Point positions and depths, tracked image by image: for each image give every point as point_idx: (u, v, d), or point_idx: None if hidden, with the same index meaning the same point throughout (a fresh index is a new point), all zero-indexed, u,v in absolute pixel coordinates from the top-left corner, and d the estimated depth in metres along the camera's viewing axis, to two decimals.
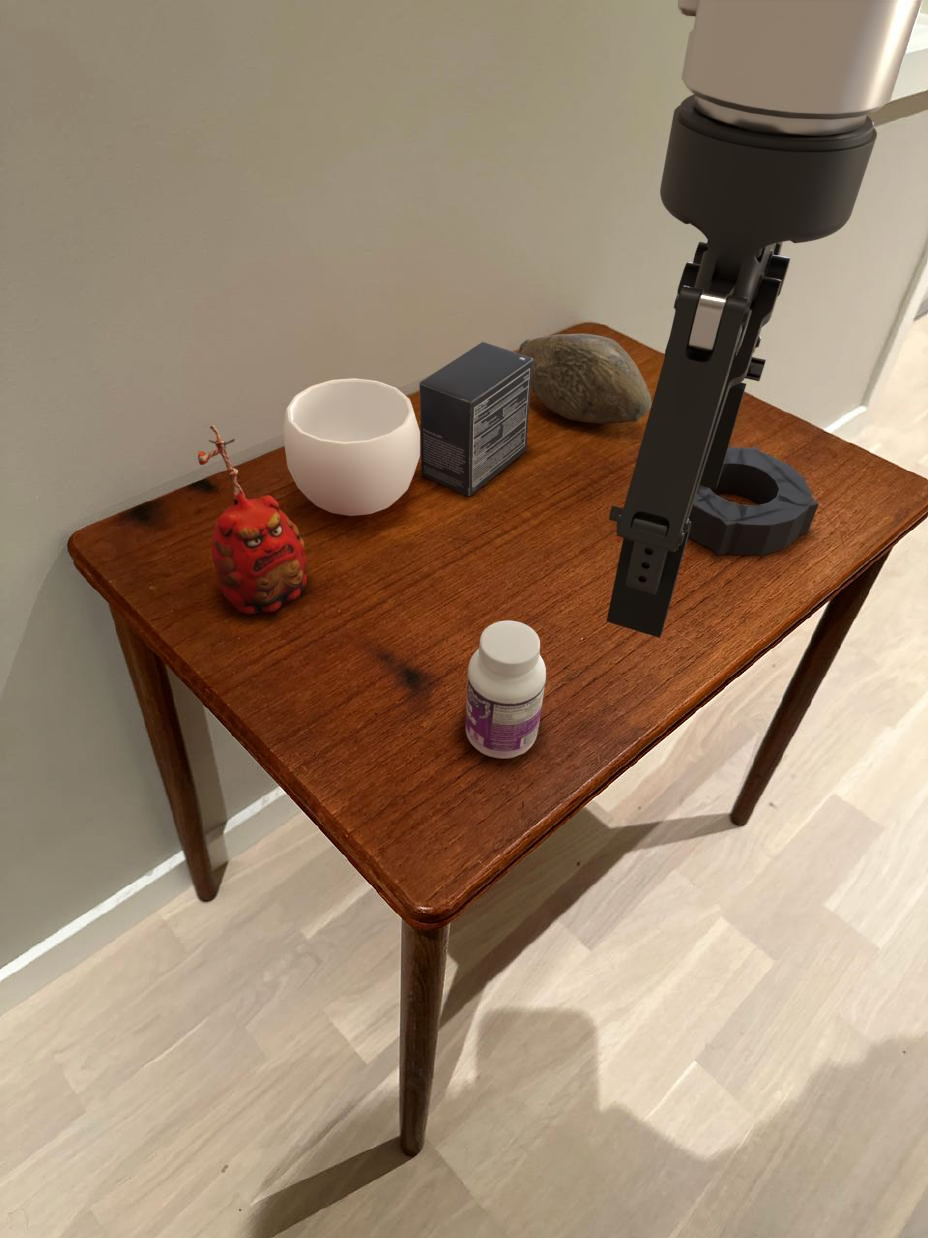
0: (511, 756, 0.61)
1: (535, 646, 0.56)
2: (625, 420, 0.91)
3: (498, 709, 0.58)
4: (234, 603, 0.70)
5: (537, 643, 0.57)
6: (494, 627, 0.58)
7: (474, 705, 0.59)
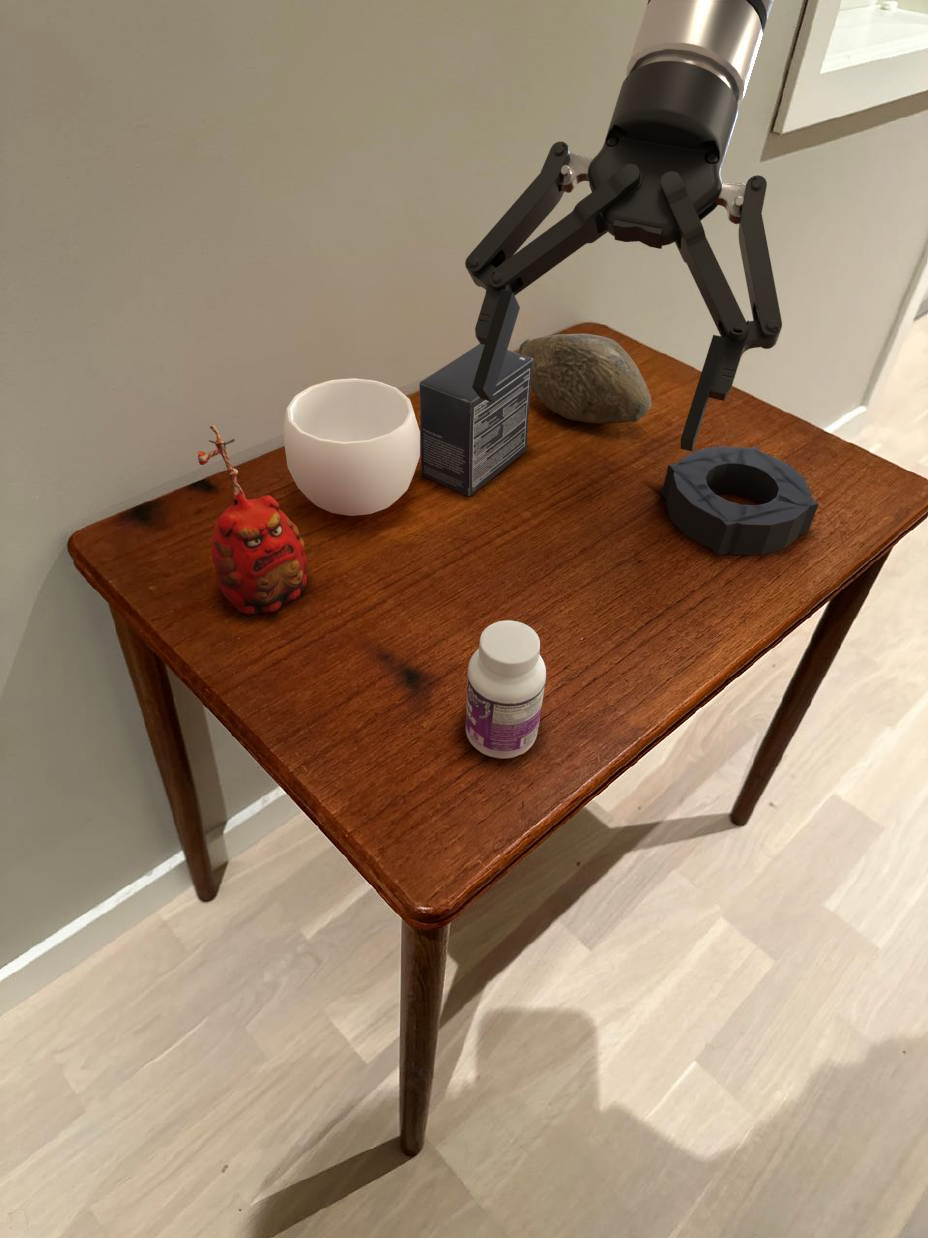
0: (511, 756, 0.61)
1: (535, 646, 0.56)
2: (625, 420, 0.91)
3: (498, 709, 0.58)
4: (234, 603, 0.70)
5: (537, 643, 0.57)
6: (494, 627, 0.58)
7: (474, 705, 0.59)
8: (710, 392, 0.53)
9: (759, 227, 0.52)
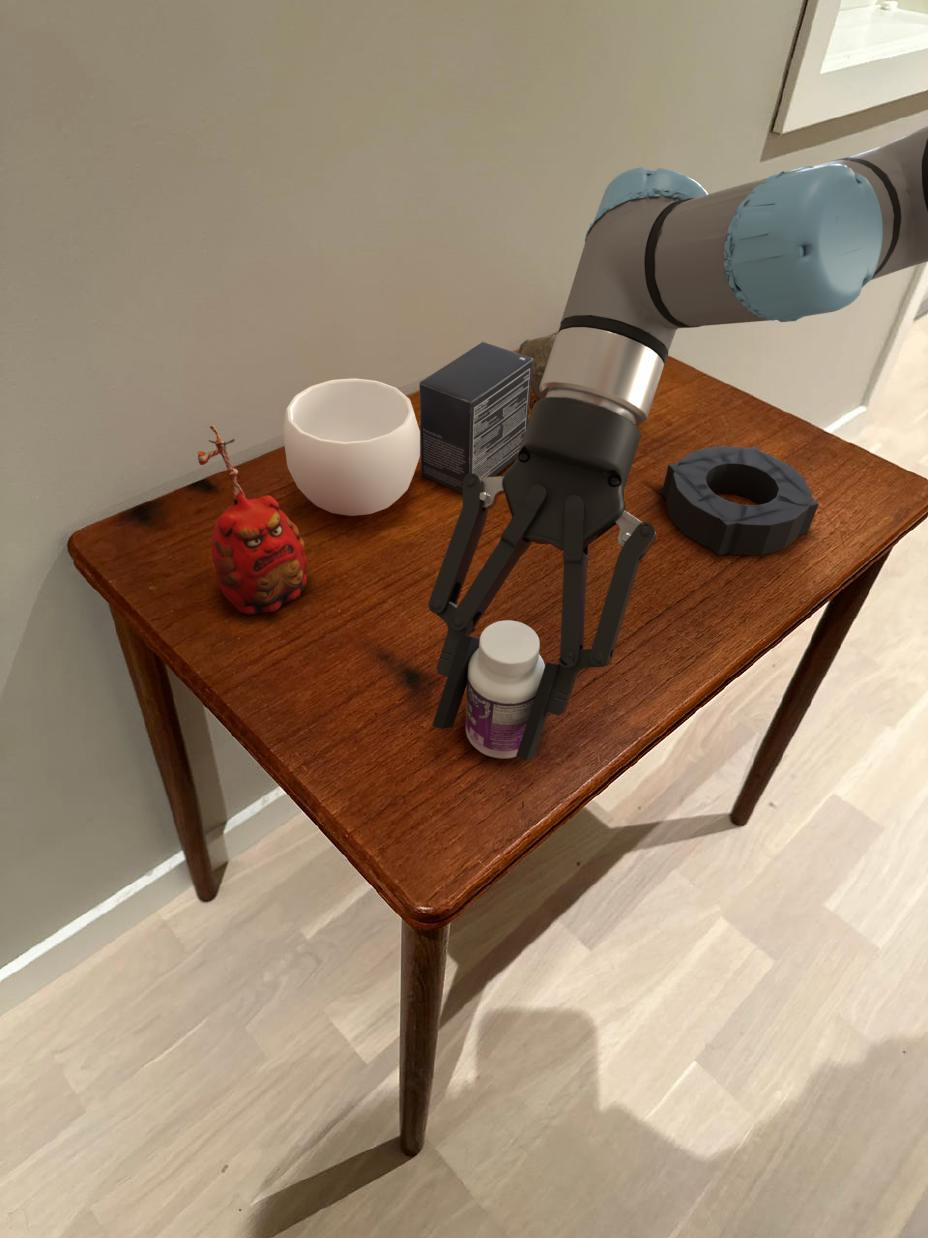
0: (511, 756, 0.61)
1: (535, 646, 0.56)
2: None
3: (498, 709, 0.58)
4: (234, 603, 0.70)
5: (537, 643, 0.57)
6: (494, 627, 0.58)
7: (474, 705, 0.59)
8: (546, 711, 0.57)
9: (629, 569, 0.56)
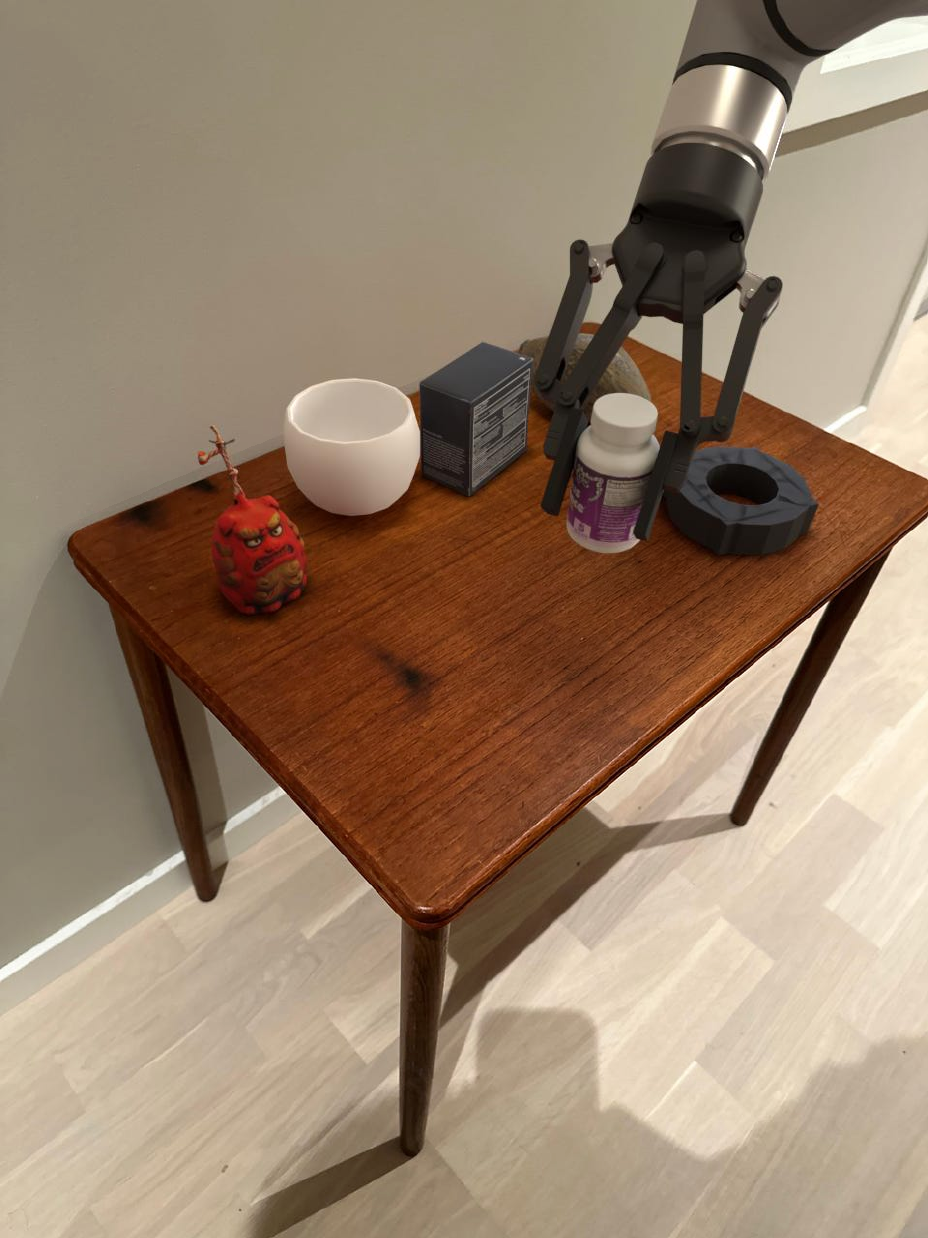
0: (618, 549, 0.58)
1: (653, 413, 0.53)
2: None
3: (612, 485, 0.54)
4: (234, 603, 0.70)
5: (654, 411, 0.53)
6: (606, 398, 0.54)
7: (583, 487, 0.55)
8: (663, 486, 0.54)
9: (755, 326, 0.52)
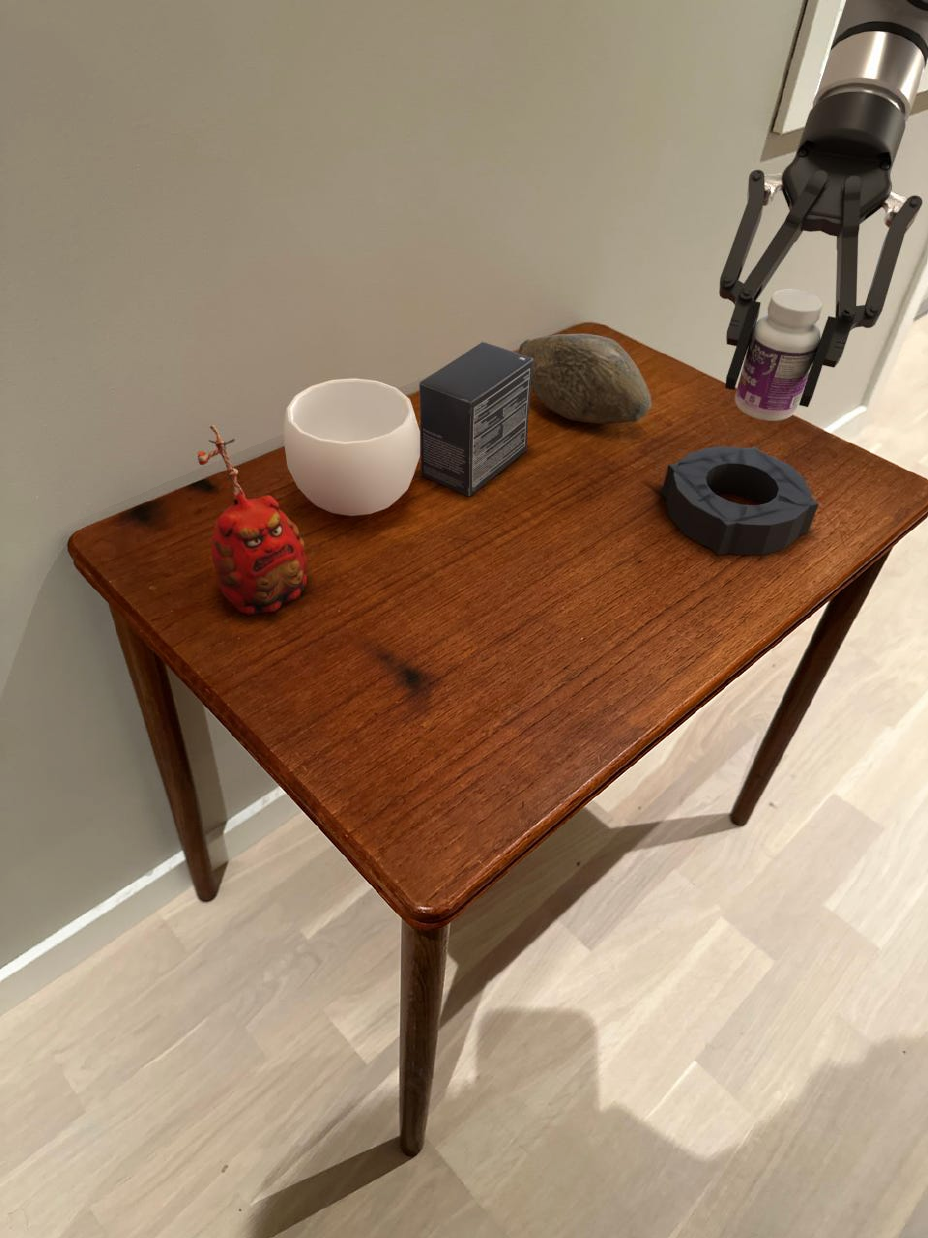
0: (780, 417, 0.73)
1: (819, 302, 0.68)
2: (625, 420, 0.91)
3: (784, 360, 0.69)
4: (234, 603, 0.70)
5: (820, 300, 0.68)
6: (780, 292, 0.69)
7: (759, 363, 0.71)
8: (824, 360, 0.69)
9: (900, 234, 0.67)
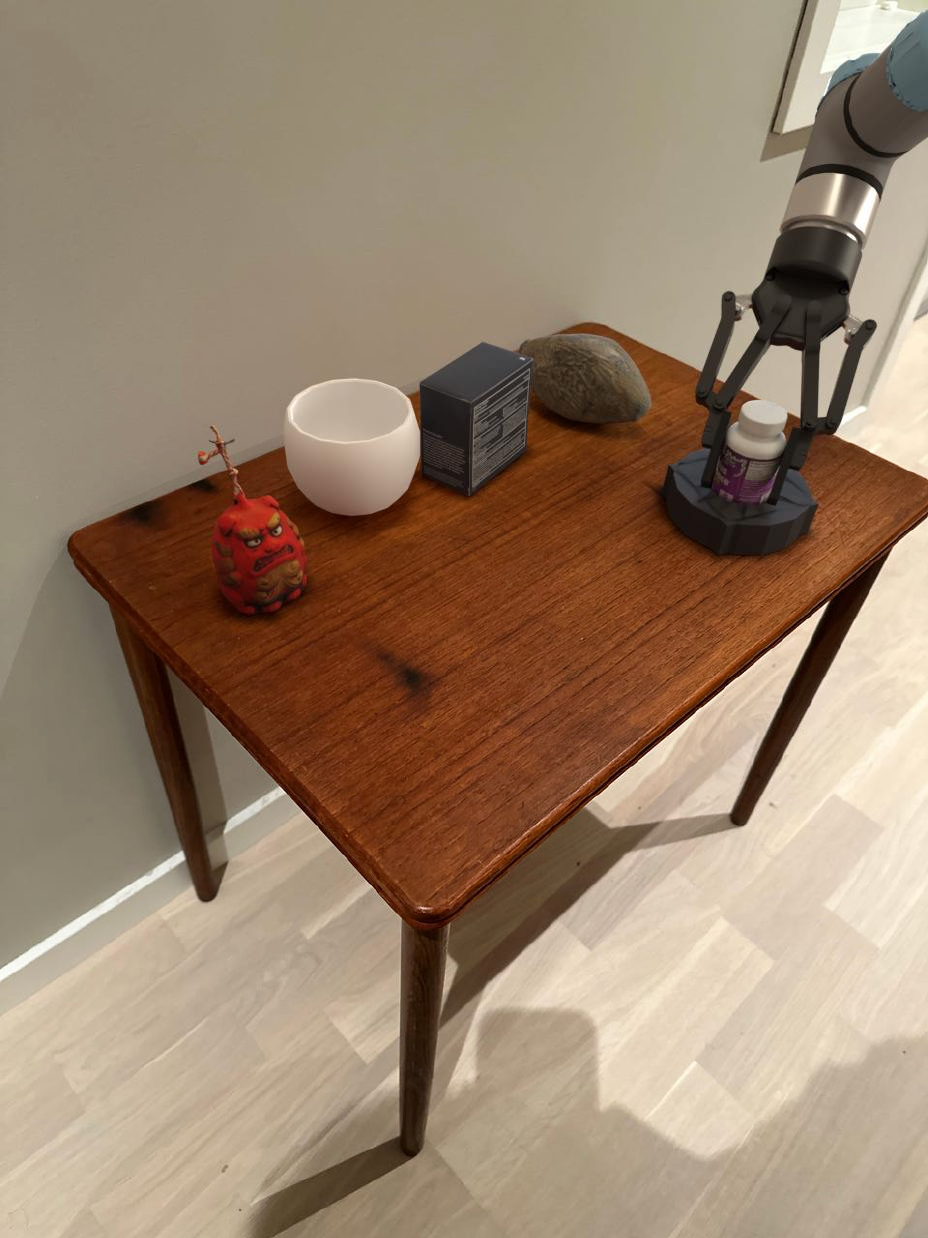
0: None
1: (784, 414, 0.75)
2: (625, 420, 0.91)
3: (753, 465, 0.77)
4: (234, 603, 0.70)
5: (785, 412, 0.76)
6: (749, 403, 0.77)
7: (730, 466, 0.78)
8: (789, 465, 0.76)
9: (857, 354, 0.75)
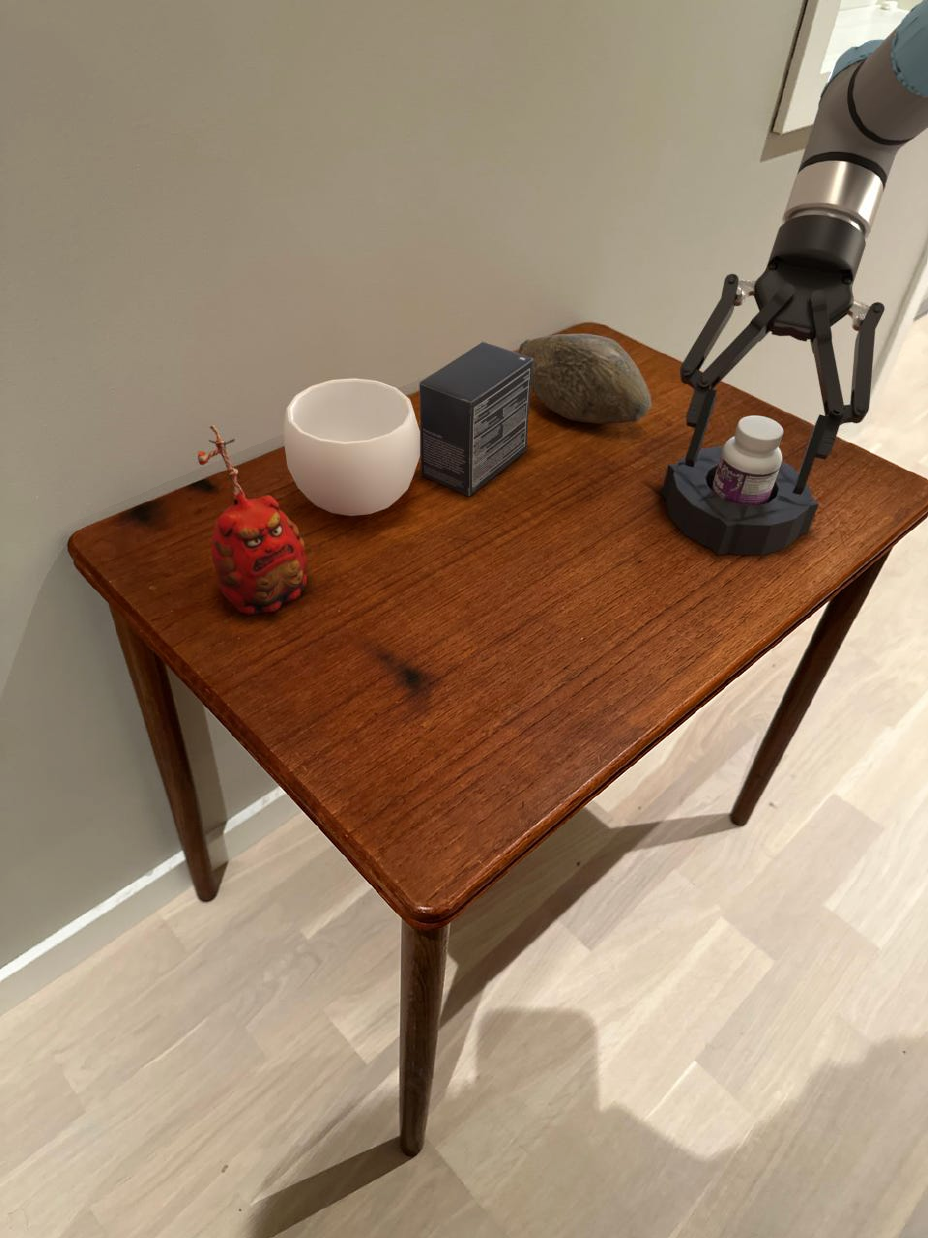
0: None
1: (780, 430, 0.77)
2: (625, 420, 0.91)
3: (749, 479, 0.78)
4: (234, 603, 0.70)
5: (781, 428, 0.77)
6: (746, 419, 0.78)
7: (727, 480, 0.79)
8: (816, 454, 0.75)
9: (871, 338, 0.74)
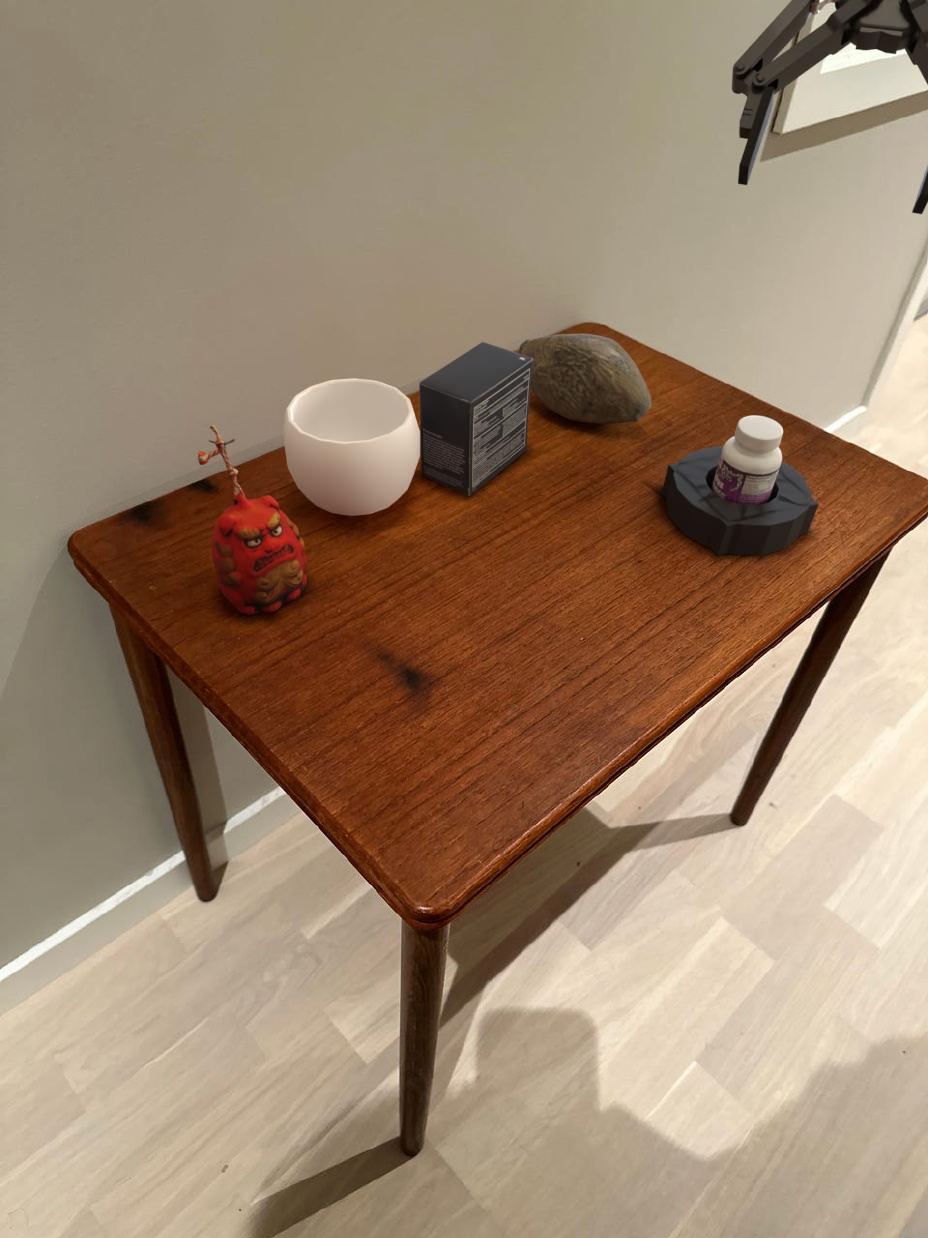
0: None
1: (780, 430, 0.77)
2: (625, 420, 0.91)
3: (749, 479, 0.78)
4: (234, 603, 0.70)
5: (781, 428, 0.77)
6: (746, 419, 0.78)
7: (727, 480, 0.79)
8: None
9: None
